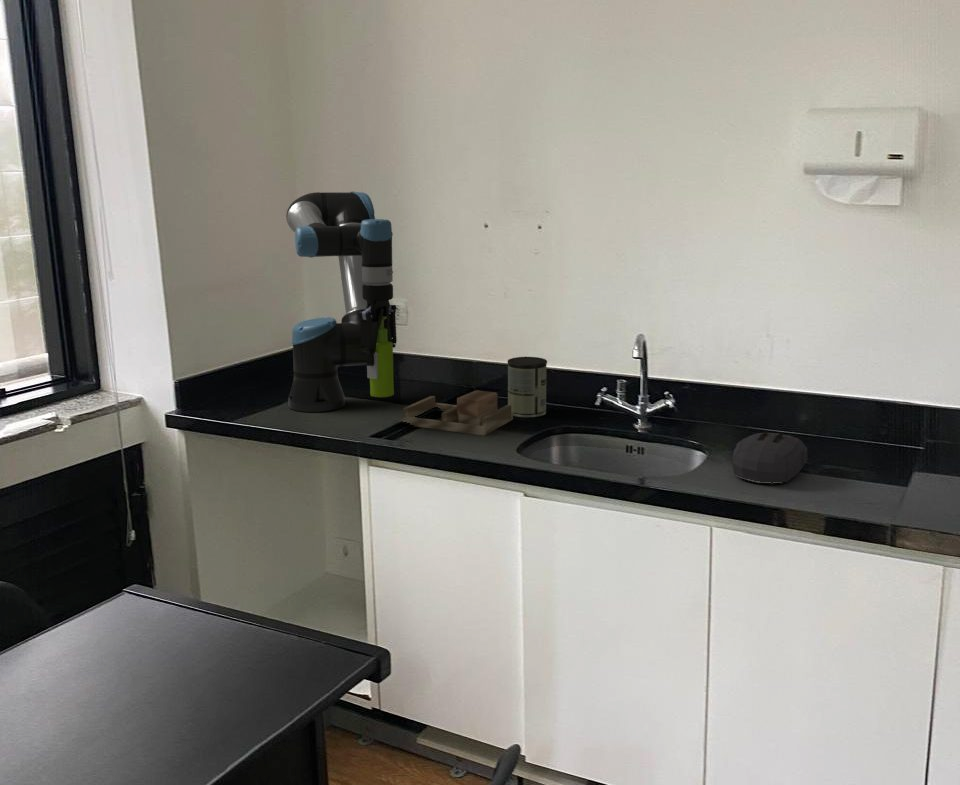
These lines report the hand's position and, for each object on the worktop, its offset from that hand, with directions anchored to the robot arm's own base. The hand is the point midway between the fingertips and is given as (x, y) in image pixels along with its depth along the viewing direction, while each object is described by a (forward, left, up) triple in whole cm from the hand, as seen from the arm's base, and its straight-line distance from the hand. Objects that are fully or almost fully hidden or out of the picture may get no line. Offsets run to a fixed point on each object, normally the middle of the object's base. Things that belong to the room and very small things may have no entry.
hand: (379, 375), depth 254 cm
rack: (+17, +10, -12) cm, 23 cm away
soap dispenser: (0, 0, -5) cm, 5 cm away
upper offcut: (+23, +9, -9) cm, 26 cm away
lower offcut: (+23, +9, -13) cm, 28 cm away
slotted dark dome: (+96, +2, -13) cm, 97 cm away
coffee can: (+29, +26, -13) cm, 41 cm away
